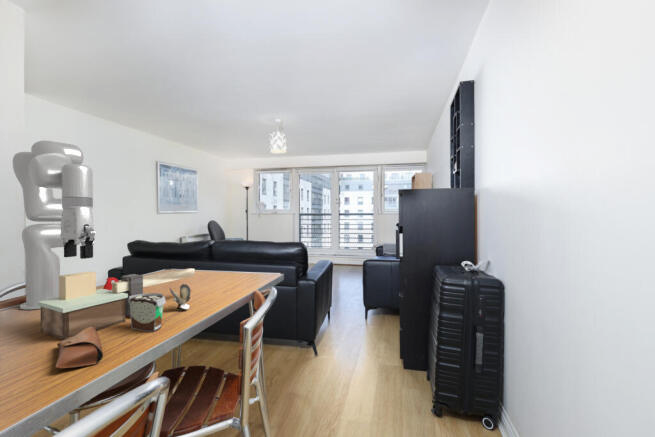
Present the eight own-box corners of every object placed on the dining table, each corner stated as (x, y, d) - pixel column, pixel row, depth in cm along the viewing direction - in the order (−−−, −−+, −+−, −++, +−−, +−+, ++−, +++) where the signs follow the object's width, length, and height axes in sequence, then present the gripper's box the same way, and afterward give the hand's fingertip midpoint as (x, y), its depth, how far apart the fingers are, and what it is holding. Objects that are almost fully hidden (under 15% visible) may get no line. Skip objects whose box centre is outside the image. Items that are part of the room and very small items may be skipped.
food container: (175, 326, 92) (175, 294, 92) (157, 333, 86) (157, 300, 86) (146, 321, 96) (146, 291, 96) (128, 328, 90) (127, 296, 90)
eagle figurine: (178, 306, 112) (178, 283, 111) (195, 307, 111) (195, 283, 111) (165, 313, 104) (165, 288, 104) (184, 314, 103) (184, 288, 103)
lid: (37, 305, 87) (37, 278, 87) (102, 292, 102) (101, 268, 102) (63, 313, 80) (62, 283, 80) (127, 297, 96) (127, 272, 95)
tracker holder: (105, 306, 112) (105, 280, 112) (96, 305, 113) (96, 279, 113) (132, 297, 124) (132, 274, 124) (124, 296, 125) (123, 273, 125)
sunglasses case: (54, 342, 76) (74, 318, 79) (82, 352, 80) (100, 328, 83) (54, 369, 63) (78, 339, 66) (87, 378, 67) (109, 350, 70)
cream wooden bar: (112, 291, 97) (112, 282, 97) (189, 275, 124) (189, 268, 124) (117, 292, 95) (117, 283, 95) (194, 275, 123) (194, 268, 123)
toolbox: (40, 331, 87) (40, 285, 87) (121, 310, 107) (121, 272, 107) (64, 340, 81) (64, 290, 81) (145, 315, 101) (145, 275, 101)
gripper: (49, 204, 93) (49, 257, 93) (77, 202, 85) (78, 260, 85) (77, 205, 100) (78, 255, 100) (106, 203, 92) (107, 257, 92)
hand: (78, 257), depth 92 cm, fingers open, 9 cm apart
